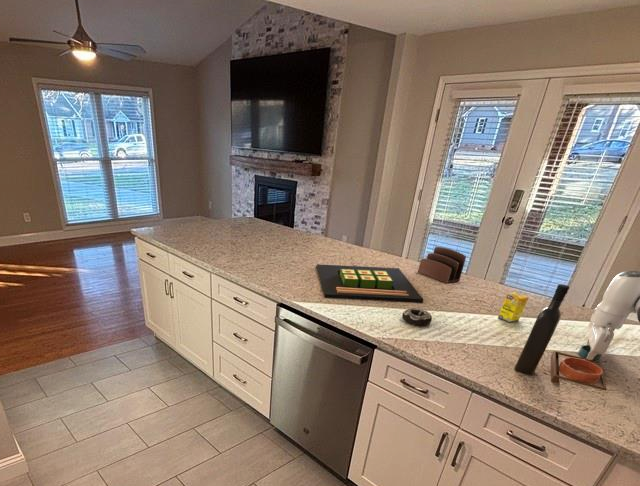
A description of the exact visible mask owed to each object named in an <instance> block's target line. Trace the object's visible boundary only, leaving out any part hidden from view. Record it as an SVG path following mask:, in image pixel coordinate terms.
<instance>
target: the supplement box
mask: <svg viewBox="0 0 640 486" xmlns="http://www.w3.org/2000/svg"><path fill="white" fill-rule="evenodd" d="M529 298H530V297H529V296H526V295H524V294H521V293H518V292H516V291H515V292H512V293H511V292H510V293H507V294H506V296H505V299H504V301H503V303H502V306H501V309H500V311H499V313H498V317H497V318H498V319H499V320H502V321H505V322H506V323H508V324H512V323H516V322H519V321H520V318H521V317H522V314H523V312H524V309H525V307H526V304H527V303H528V300H529Z"/></svg>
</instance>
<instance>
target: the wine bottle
mask: <svg viewBox="0 0 640 486" xmlns="http://www.w3.org/2000/svg"><path fill="white" fill-rule="evenodd" d="M569 289H570V286H569V285H566V284H562V283H561V284H557V286H556V289H555V291H554V294H553V296H552V298H551V300H550V303H549V304H548V306H547V307H544V308H543V309H542V310H541V311H540V312H539V314H538V315H537V317H536V320H535V322H534V324H533V326H532V328H531V330H530V332H529V335H528V337H527V340H526V341H525V343H524V346H523V348H522V350H521V353H520V355H519V357H518V360H517V362H516V364H515V366H514V371H516V372H519V373H522V374H525V375H527V376H533V375H534V373H535V372H536V370H537V368H538V366H539V364H540V362H541V360H542V358H543V356H544V354H545V352H546V349H547V348H548V346H549V344H550V342H551V339H552V338H553V335H554V333H555V332H556V329H557V327H558V325H559V323H560V321H561V319H562V312H561V310H560V308H561V305H562V303H563V302H564V299H565V297H566V295H567V294H568V291H569Z"/></svg>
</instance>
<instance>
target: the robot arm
mask: <svg viewBox="0 0 640 486" xmlns="http://www.w3.org/2000/svg"><path fill="white" fill-rule="evenodd" d="M630 314H636V317H637V321H638V322H639V324H640V271H637V270H628V271H622V272H620V273H618V274H617V275H616V276H615V277H614V278H612V281H611V282H610V284H609V285H608V286H607V288H606V290H605V292H604V293H603V297H602V299H601V302H600V303H599V304H598V305H597V306H596V308H594V309H593V311H592V315H591V317H590V321H589V323H588V326H587V329H586V334H587V340H586V344H585V345H587V346H590V347H591V351H590V352H589V353H588V354H587V356H586V358H587V359H588V360H593V358H594V356H596V355H597V354H603V355H604V354H605V353H606V352H607V350H608V348H610V346H611V343H612V341H613V339H614V337H615V336H614V335H615V330H619V329H621V328H622V327H623V325H624V324H625V322H626V321H627V319H628V317H629V316H630Z"/></svg>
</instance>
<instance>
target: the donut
mask: <svg viewBox="0 0 640 486" xmlns="http://www.w3.org/2000/svg"><path fill="white" fill-rule="evenodd" d="M401 317H402V319H403V321H404V322H405V323H407V324H408V325H412V326H416V327H424V326H428V325H430V324H431V323H432V321H433V316H432V314H431V313H430V312H428V310H425V309H422V308H413V307H412V308H411V307H410V308H407V309H405V310H403V312H402V316H401Z"/></svg>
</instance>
